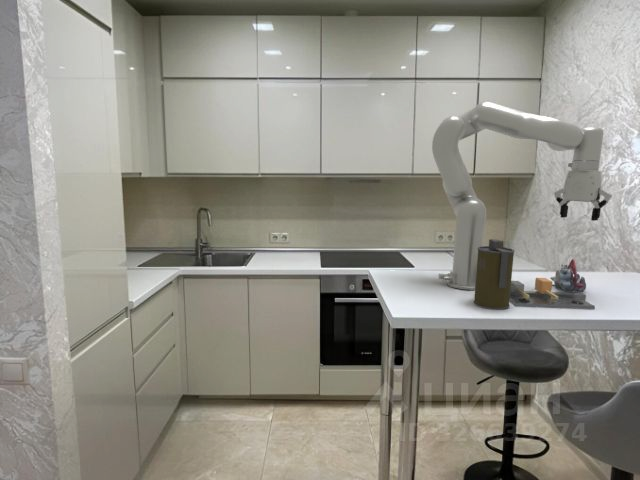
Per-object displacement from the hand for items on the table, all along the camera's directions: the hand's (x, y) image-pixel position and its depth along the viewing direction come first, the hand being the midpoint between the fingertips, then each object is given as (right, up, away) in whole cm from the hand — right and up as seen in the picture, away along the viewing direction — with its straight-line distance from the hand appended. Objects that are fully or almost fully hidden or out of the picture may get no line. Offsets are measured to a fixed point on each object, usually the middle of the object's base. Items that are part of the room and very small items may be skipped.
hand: (578, 218), depth 142 cm
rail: (-13, -26, -3) cm, 29 cm away
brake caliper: (+2, -25, +9) cm, 26 cm away
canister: (-33, -27, -11) cm, 44 cm away
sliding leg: (-14, -25, -7) cm, 30 cm away
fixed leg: (-23, -25, -6) cm, 34 cm away
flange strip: (-15, -27, -10) cm, 33 cm away
